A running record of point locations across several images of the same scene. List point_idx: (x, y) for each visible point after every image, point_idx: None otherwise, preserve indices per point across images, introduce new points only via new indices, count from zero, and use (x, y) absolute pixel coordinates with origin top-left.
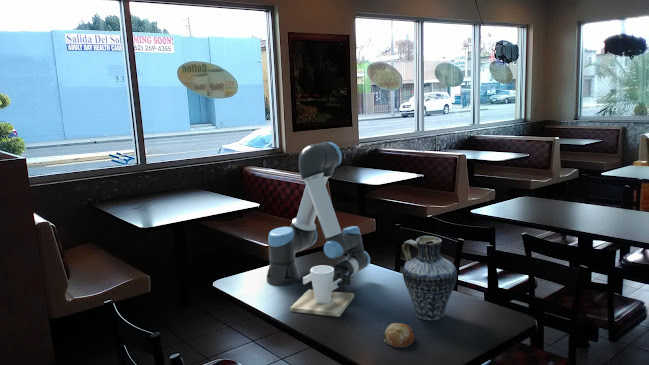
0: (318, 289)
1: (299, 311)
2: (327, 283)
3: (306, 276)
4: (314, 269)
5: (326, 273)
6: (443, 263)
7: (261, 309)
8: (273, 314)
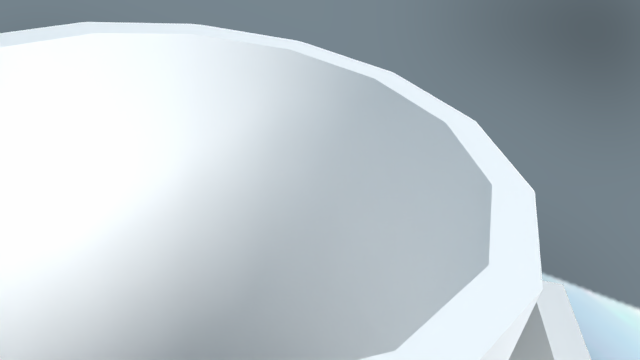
0: (201, 302)
1: None
2: (36, 253)
3: (559, 345)
4: (467, 257)
5: (22, 39)
6: None
7: (627, 309)
8: None
